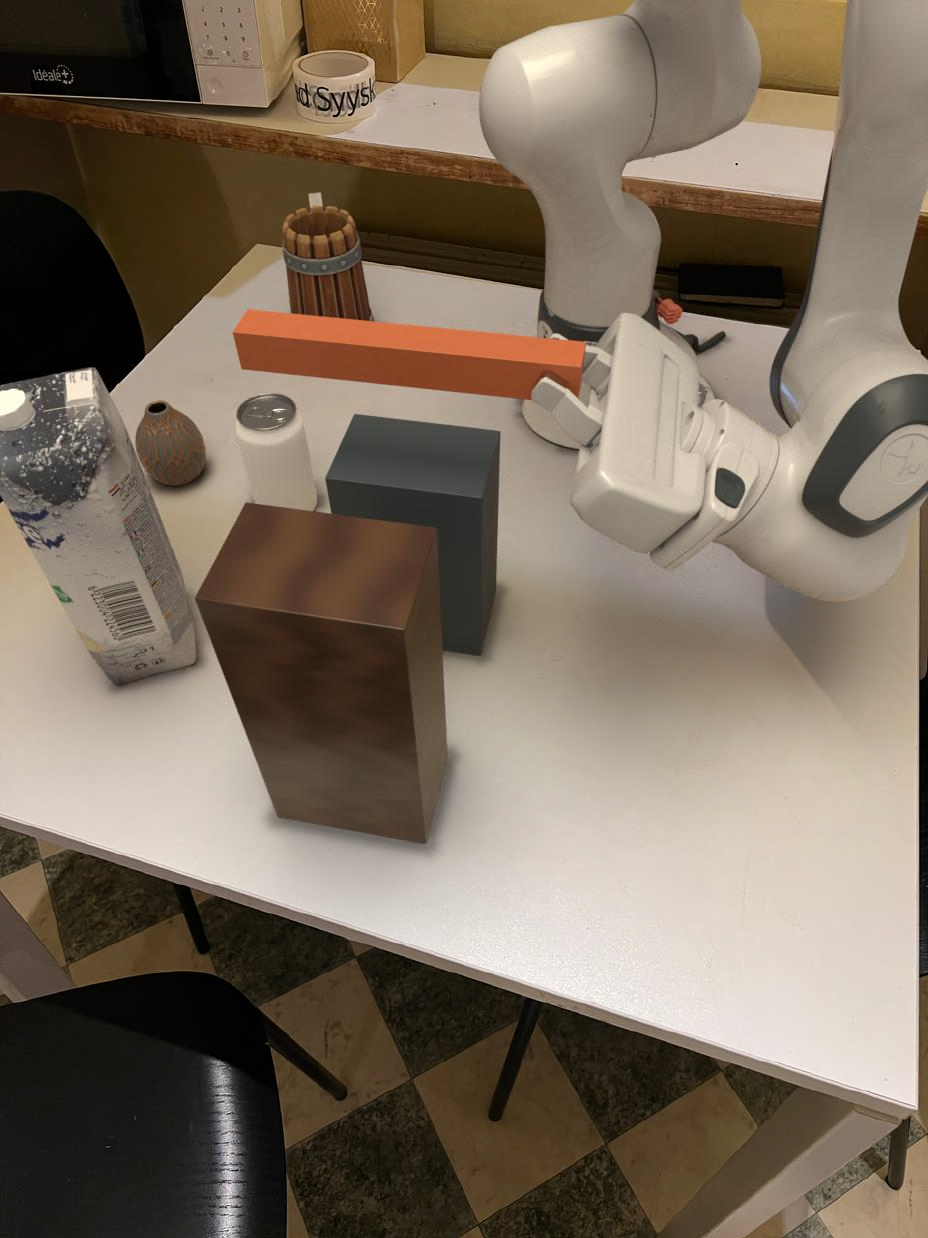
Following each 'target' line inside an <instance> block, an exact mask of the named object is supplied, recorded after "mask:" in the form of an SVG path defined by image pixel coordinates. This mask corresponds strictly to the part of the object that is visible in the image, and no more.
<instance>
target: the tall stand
mask: <svg viewBox="0 0 928 1238" xmlns="http://www.w3.org/2000/svg"><path fill="white" fill-rule="evenodd" d="M194 601H195V603H196V607H197V609H198V611H199V614H200V616H201V620H202V622H203V624H204V627H205V630H206V632H207V635H208V638H209V640H210V643H211V645H212V648H213V651H214V654H215V656H216V658H217V661H218V664H219V667H220V669H221V673H222V674H223V675H222V676H223V677H224V680H225V683H226V685H227V688H228V691H229V692H230V695H231V698H232V701H233V704H234V706H235V709H236V711H237V714H238V717H239V720H240V722H241V725H242V728H243V730H244V732H245V736H246V738H247V741H248V743H249V746H250V748H251V752H252V754H253V756H254V759H255V762H256V764H257V767H258V769H259V772H260V775H261V777H262V780H263V783H264V786H265V788H266V790H267V793H268V796H269V798H270V801H271V804H272V807H273V809H274V811H275V815H276V817H279V818H282V819H289V820H294V821H299V822H305V823H310V824H316V825H322V826H327V827H332V828H338V829H343V830H348V831H354V832H359V833H364V834H370V835H375V836H376V835H377V836H380V837H386V838H391V839H392V838H393V839H398V840H403V841H409V842H412V843H413V842H414V843H419V844H427V841H428V838H429V834H430V830H431V825H432V822H433V821H432V820H433V817H434V813H435V808H436V804H437V800H438V798H439V797H438V796H439V792H440V788H441V784H442V780H443V776H444V773H445V769H446V768H445V767H446V765H447V761H448V760H447V759H448V736H447V714H446V695H445V692H446V691H445V675H444V673H445V672H444V671H445V670H444V653H443V651H444V650H443V649H442V628H441V607H440V586H439V565H438V543H437V528H435V527H427V526H420V525H412V524H405V523H397V522H390V521H382V520H375V519H367V518H360V517H352V516H345V515H337V514H331V512H330V513H329V512H321V511H314V510H313V511H307V510H300V509H292V508H285V507H277V506H270V505H262V504H255V502H254V503H253V502H247V501H246V502H244V504H243V506H242V508H241V510H240V511H239V514H238V516H237V518H236V519H235V522H234V523H233V525H232V527H231V529H230V531H229V532H228V534H227V536H226V538H225V539H224V541H223V544H222V546H221V547H220V549H219V551H218V553H217V555H216V557H215V559H214V561H213V563H212V565H211V567H210V569H209V570H208V572H207V574H206V576H205V578H204V580H203V582H202V584H201V585H200V588H199V589H198V591H197V593H196V595H195V597H194Z"/></svg>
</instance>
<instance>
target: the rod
mask: <svg viewBox="0 0 928 1238" xmlns="http://www.w3.org/2000/svg"><path fill="white" fill-rule="evenodd" d="M232 336H233V340H234V345H235V348H236V353H237V357H238V362H239V364H240V368H241V370H244V371H254V372H255V371H256V372H262V373H263V372H264V373H272V374H282V375H292V376H300V377H311V378H320V379H329V380H338V381H346V382H356V383H366V384H375V385H386V386H395V387H404V388H413V389H423V390H432V391H441V392H451V393H458V394H459V393H460V394H469V395H479V396H488V397H497V398H507V399H517V400H524V399H525V400H532V399H531V393H532V390H533V386H534V383H535V381H536V380H537V378H538V377H539V376H540V374H541V373H542V372H543V371H545V370H550V371H552V372H554V373H555V374H556V375H557V376H560V377H562V378H563V379H565V380H567V381H568V384H567V388H568V389H569V390H570V391H571V392H572V393H573V394H574V395H575V396H576V397H577V398H578V399H579V394H580V388H581V383H582V376H583V367H584V357H585V348H586V342H581V341H571V340H560V339H550V338H540V337H537V336H529V335H516V334H508V333H498V332H488V331H478V330H477V331H476V330H467V329H466V330H465V329H456V328H447V327H446V328H445V327H435V326H434V327H433V326H425V325H416V324H415V325H414V324H403V323H395V322H394V323H393V322H385V321H384V322H383V321H375V320H374V321H364V320H353V319H343V318H332V317H322V316H312V315H301V314H291V312H281V311H280V312H279V311H269V310H260V309H259V310H258V309H251V308H250V309H247V310H246V311H245V312H244V314H243V315H242V317H241V318H240V320H239V322H238V323H237V325H236V326H235V327H234V329H233V331H232Z"/></svg>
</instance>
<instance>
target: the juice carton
mask: <svg viewBox="0 0 928 1238" xmlns="http://www.w3.org/2000/svg"><path fill="white" fill-rule="evenodd" d="M0 497H1V499H2V501H3V503H4V504H5V506H6V508H7V510H8V512H9V514H10V516H11V518H12V519H13V521H14V523H15V525H16V526H17V528H18V530H19V532H20V534H21V535H22V537H23V539H24V541H25V542H26V544H27V546H28V548H29V549H30V551H31V553H32V555H33V557H34V558H35V560H36V562H37V564H38V565H39V567H40V569H41V570H42V573H43V574H44V576H45V578H46V580H47V581H48V583H49V585H50V586H51V588H52V591H53V592H54V594H55V596H56V597H57V599H58V601H59V602H60V604H61V606H62V607H63V608H62V609H64V612H65V613H66V615H67V617H68V619H69V620H70V622H71V624H72V625H73V627H74V629H75V631H76V633H77V634H78V636H79V639H80V640H81V641H82V643H83V644H84V646H85V648H86V650H87V651H88V653H89V654H90V656H91V657H92V659H93V660H94V661H95V663H96V664H97V665H98V666H99V668H100V669H101V670H102V672H103V673H104V674H105V675H106V676H107V677H108V679H109V680H110V681H111V682H112V683H113V684H115V685H124V684H128V683H132V682H135V681H138V680H141V679H144V678H148V677H151V676H154V675H158V674H161V673H165V672H169V671H173V670H177V669H181V668H184V667H188V666H191V665H193V664H195V663H196V661H197V645H196V633H195V625H194V620H193V617H192V613H191V609H190V606H189V603H188V599H187V590H186V583H185V579H184V576H183V573H182V570H181V568H180V567H181V566H180V564H179V562H178V559H177V557H176V553H175V551H174V547H173V546H172V543H171V541H170V538H169V536H168V533H167V530H166V527H165V524H164V522H163V520H162V517H161V515H160V512H159V509H158V507H157V504H156V502H155V499H154V497H153V494H152V492H151V488H150V486H149V484H148V480H147V479H146V476H145V473H144V471H143V467H142V464H141V462H140V460H139V458H138V455H137V452H136V449H135V447H134V444H133V442H132V440H131V437H130V434H129V432H128V430H127V427H126V425H125V422H124V419H123V418H122V416H121V413H120V412H119V409H118V408H117V406H116V404H115V402H114V400H113V398H112V396H111V394H110V392H109V390H108V388H107V387H106V385H105V382H104V381H103V379H102V377H101V375H100V373H99V371H98V370H97V369H96V367H92V366H91V367H84V368H79V369H74V370H68V371H65V372H60V373H59V372H58V373H53V374H49V375H45V376H40V377H35V378H29V379H25V380H20V381H14V382H10V383H6V384H1V385H0Z"/></svg>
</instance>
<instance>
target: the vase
mask: <svg viewBox="0 0 928 1238" xmlns="http://www.w3.org/2000/svg"><path fill="white" fill-rule="evenodd" d="M134 444H135V445H134V446H135V452H136V455H137V457H138V460H139V463H140V465H141V467H142V469H144V470H145V472H146V473H147V474H148V475H149V476H150V477H151V478H153V479H154V480H155V481H157V482H158V483H161V484H164V485H168V486H174V487H175V486H176V487H177V486H183V485H186V484H189V483H190V482H192V481H194V480H195V479H196V478H197V477H198V476H199V475H200V474H201V472H202V470H203V468H204V466H205V463H206V459H207V458H206V457H207V456H206V455H207V452H206V451H207V450H206V443H205V440H204V437H203V435H202V432H201V431H200V429H199V427H198V426H197V425H196V423H195V421H193V420H192V419H191V418H190V417H189V416H188V415H186V414H185V413H183V412H181V411H179V410H178V409H176V408H174V407H172V405H171V404H170V403H169V402H167V401H165V400H161V399H160V400H154V401H151V402H148V404H147V405H146V406H145V408H144V414H143V417H142V418H141V420H140V422H139V424H138V426H137V428H136V431H135V437H134Z"/></svg>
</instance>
